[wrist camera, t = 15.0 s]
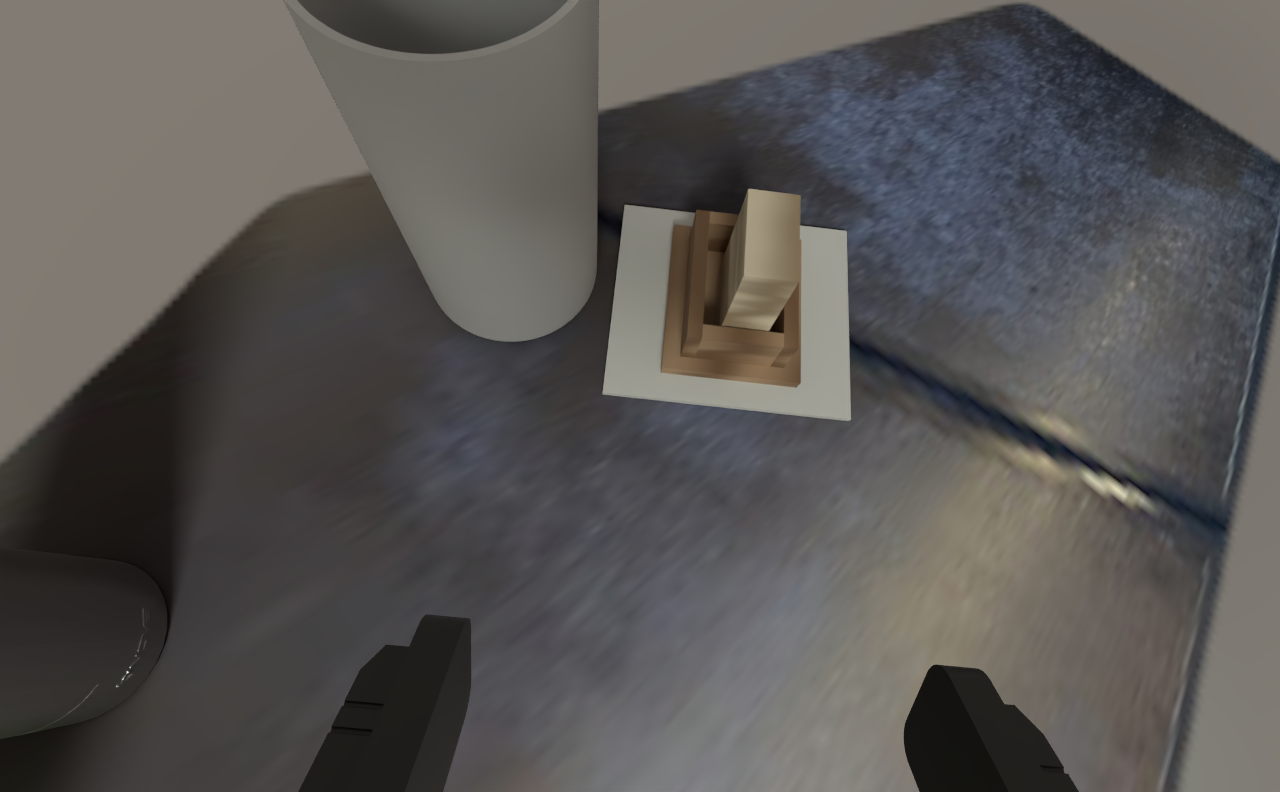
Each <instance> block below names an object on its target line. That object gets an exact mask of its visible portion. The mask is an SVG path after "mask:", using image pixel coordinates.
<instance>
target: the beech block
mask: <svg viewBox="0 0 1280 792" xmlns="http://www.w3.org/2000/svg"><path fill="white" fill-rule="evenodd" d="M800 198H801V195H794V194H786V193H778V192H771V191H763V190H755V189H748V191H747V194H746V197H745V199H744V202H743V205H742V208H741V211H740V213H739V216H738V219H737V222H736V224H735V227H734V230H733V233H732V235H731V238H730V241H729V244H728V247H727V249H726V252H725V255H724V258H723V260H722V263H721V266H720V269H719V271H718V278H717V292H716V307H715V322H714V326H723V327H732V328H740V329H749V330H758V331H767V332H769V330H770V328H771V327H772V325H773V323H774V322H775V320H776V319H777V317H778V315H779V314H780V312H781V310H782V309H783V307H784V306H785V304H786V302H787V301H788V299H789V298H790V296H791V294H792V293H793V291H794V289H795V288H796V286H797V285H798V283H799V252H800Z"/></svg>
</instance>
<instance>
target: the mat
mask: <svg viewBox="0 0 1280 792" xmlns="http://www.w3.org/2000/svg"><path fill="white" fill-rule="evenodd" d="M694 217H695V213H691V212H683V211H674V210H666V209H658V208H649V207H641V206H632V205H625V207H624V216H623V224H622V233H621V241H620V249H619V258H618V266H617V275H616V283H615V292H614V300H613V309H612V317H611V326H610V334H609V343H608V351H607V360H606V368H605V377H604V385H603V395H612V396H622V397H631V398H640V399H649V400H659V401H668V402H677V403H686V404H695V405H705V406H714V407H723V408H732V409H742V410H751V411H760V412H769V413H778V414H788V415H797V416H806V417H815V418H825V419H834V420H843V421H850V420H851V404H850V360H849V317H848V273H847V231H843V230H834V229H826V228H817V227H809V226H801V225H800V239H801V383H800V384H799V385H798V386H797V388H795V387H786V386H777V385H768V384H759V383H750V382H741V381H732V380H723V379H713V378H704V377H695V376H686V375H677V374H668V373H661V362H662V351H663V339H664V327H665V316H666V304H667V293H668V281H669V269H670V258H671V246H672V234H673V228H674V224H675V225H684V226H692V225H693V221H694Z"/></svg>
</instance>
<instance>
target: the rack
mask: <svg viewBox="0 0 1280 792" xmlns="http://www.w3.org/2000/svg"><path fill="white" fill-rule="evenodd" d="M738 216H739V215H737V214H729V213H721V212H712V211H704V210H696V213H695V217H694V221H693V225H692V226H684V225H675V224H674V228H673V234H672V246H671V258H670V269H669V281H668V293H667V304H666V316H665V327H664V339H663V351H662V362H661V373H668V374H677V375H686V376H695V377H704V378H713V379H723V380H732V381H741V382H750V383H759V384H768V385H777V386H786V387H795V388H797V386H798V385H799V384H800V383H801V239H800V252H799V283H798V285H797V286H796V288H795V289H794V291H793V293H792V294H791V296H790V298H789V299H788V301H787V302H786V304H785V306H784V307H783V309H782V310H781V312H780V314H779V315H778V317H777V319H776V320H775V322H774V323H773V325H772V327H771V328H770V330H769V332H767V331H758V330H749V329H740V328H732V327H723V326H714V322H715V307H716V292H717V278H718V271H719V269H720V266H721V263H722V260H723V258H724V255H725V252H726V249H727V247H728V244H729V241H730V238H731V235H732V233H733V230H734V227H735V224H736V222H737V219H738Z"/></svg>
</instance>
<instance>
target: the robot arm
mask: <svg viewBox="0 0 1280 792" xmlns="http://www.w3.org/2000/svg"><path fill="white" fill-rule="evenodd" d="M166 632H167V609H166V605H165V600H164V597H163V595H162V593H161V591H160V589H159V587H158V585H157V584H156V582H155V581H154V580H153V579H152V578H151V577H150V576H149V575H148V574H147V573H146V572H144V571H143V570H141V569H139V568H138V567H136V566H134V565H131V564H128V563H125V562H122V561H116V560H107V559H99V558H90V557H81V556H73V555H66V554H58V553H49V552H40V551H31V550H22V549H13V548H4V547H0V739H3V738H8V737H13V736H18V735H24V734H28V733H33V732H38V731H42V730H47V729H52V728H57V727H61V726H66V725H71V724H75V723H80V722H83V721H86V720H89V719H92V718H95V717H98V716H100V715H102V714H104V713H106V712H108V711H109V710H111V709H113V708H115V707H116V706H118V705H119V704H120V703H122V702H123V701H124V700H125V699H127V698H128V697H129V696H130V695H132V694H133V693H134V692H135V690H136V689H137V688H138V687H139V686H140V685H141V684H142V683H143V682H144V681H145V679H146V678H147V676H148V675H149V673H150V672H151V670H152V669H153V667H154V666H155V664H156V662H157V660H158V657H159V655H160V653H161V650H162V648H163V645H164V641H165V636H166ZM470 688H471V622H470V619H469V618H458V617H448V616H437V615H425V616H424V617H423V618H422V620H421V621H420V624H419V626H418V628H417V630H416V633H415V635H414V637H413V639H412V642H411V644H410V646H409V647H406V646H395V645H385V646H384V647H383V648H382V649H381V650H380V651H379V652H378V653H377V654H376V655H375V656H374V657H373V658H372V659H371V660H370V661H369V662H368V663H367V664H366V665H365V666H364V667H363V668H362V669H360V671H359V673H358V675H357V677H356V679H355V681H354V683H353V685H352V687H351V689H350V691H349V693H348V695H347V697H346V699H345V703H344V706H342V707H341V709H340V711H339V713H338V715H337V717H336V719H335V721H334V723H333V725H332V729H331V732H330V733H328V734H327V736H326V738H325V740H324V742H323V744H322V746H321V748H320V750H319V752H318V754H317V756H316V758H315V760H314V762H313V764H312V766H311V768H310V770H309V772H308V774H307V776H306V778H305V780H304V782H303V784H302V786H301V788H300V790H299V792H443V790H444V786H445V783H446V780H447V776H448V773H449V770H450V766H451V763H452V760H453V756H454V753H455V750H456V746H457V743H458V740H459V736H460V733H461V730H462V726H463V723H464V719H465V716H466V712H467V707H468V702H469V696H470ZM904 746H905V752H906V756H907V760H908V763H909V766H910V768H911V771H912V773H913V776H914V779H915V781H916V784H917V786H918V789H919V791H920V792H1079V791H1078V790H1077V788H1076V786H1075V785H1074V783H1073V781H1072V780H1071V778H1070V777H1069V775H1068V774H1065V773H1064V770H1063V768H1064V767H1063V765H1062V764H1061V762H1060V760H1059V759H1058V757H1057V755H1056V754H1055V752H1054V751H1053V749H1052V747H1051V746H1050V744H1049V742H1048V741H1047V739H1046V738H1045V736H1044V734H1043V733H1042V732H1041V731H1040V730H1039V729H1038V728H1037V727H1036V726H1035V725H1034V724H1033V723H1032V722H1031V721H1030V720H1029V719H1028V718H1027V717H1026V716H1025V715H1024V714H1023V713H1022V712H1021V711H1020V710H1019V709H1018V708H1017V707H1016V706H1015V705H1006V704H1004V703H1003V701H1002V700H1001V698H1000V696H999V694H998V693H997V691H996V689H995V687H994V686H993V684H992V682H991V681H990V679H989V678H988V676H987V675H986V674H985V673H984V672H983V671H982V670H980V669H976V668H965V667H955V666H944V665H933V666H932V667H931V668H930V669H929V670H928V672H927V674H926V677H925V679H924V681H923V683H922V686H921V688H920V690H919V692H918V695H917V697H916V699H915V702H914V704H913V706H912V708H911V711H910V713H909V715H908V717H907V720H906V723H905V727H904Z"/></svg>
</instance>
